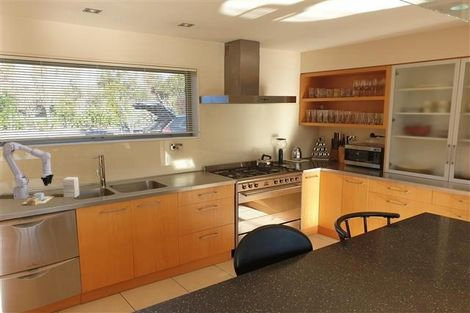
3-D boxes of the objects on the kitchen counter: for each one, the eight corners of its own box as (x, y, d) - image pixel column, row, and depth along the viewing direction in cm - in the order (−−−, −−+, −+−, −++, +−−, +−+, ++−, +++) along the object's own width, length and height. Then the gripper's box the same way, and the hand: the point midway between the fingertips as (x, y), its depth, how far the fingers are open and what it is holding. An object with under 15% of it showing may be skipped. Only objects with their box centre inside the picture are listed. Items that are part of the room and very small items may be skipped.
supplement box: (68, 195, 270) (67, 176, 268) (79, 194, 271) (78, 176, 269) (63, 197, 261) (62, 179, 259) (75, 197, 262) (74, 179, 260)
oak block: (26, 205, 238) (26, 200, 237) (30, 203, 243) (29, 198, 242) (35, 205, 239) (35, 200, 238) (38, 203, 244) (38, 198, 243)
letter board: (22, 204, 242) (22, 203, 242) (34, 197, 262) (34, 196, 262) (44, 203, 245) (44, 203, 245) (54, 196, 265) (54, 195, 265)
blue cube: (34, 201, 250) (33, 194, 249) (37, 199, 255) (36, 192, 254) (41, 200, 251) (41, 194, 250) (44, 199, 255) (43, 192, 255)
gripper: (48, 169, 256) (50, 186, 258) (55, 166, 270) (56, 182, 272) (38, 169, 255) (40, 186, 257) (46, 166, 269) (47, 182, 271)
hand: (47, 184), depth 264 cm, fingers open, 7 cm apart
